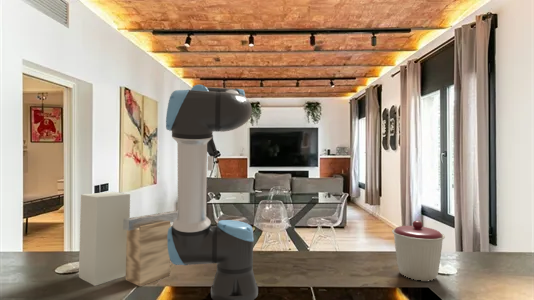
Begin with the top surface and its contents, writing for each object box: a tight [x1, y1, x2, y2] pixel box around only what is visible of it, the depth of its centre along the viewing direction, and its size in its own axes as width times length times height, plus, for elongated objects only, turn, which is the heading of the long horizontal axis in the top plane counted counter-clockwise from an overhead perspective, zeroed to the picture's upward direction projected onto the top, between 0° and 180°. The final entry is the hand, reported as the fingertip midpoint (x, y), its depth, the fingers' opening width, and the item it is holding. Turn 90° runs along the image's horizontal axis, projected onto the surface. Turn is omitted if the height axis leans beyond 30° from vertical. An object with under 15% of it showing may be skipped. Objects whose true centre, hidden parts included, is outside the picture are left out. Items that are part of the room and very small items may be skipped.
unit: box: [78, 191, 131, 287], centre depth 114 cm, size 12×12×30 cm
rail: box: [123, 209, 178, 231], centre depth 115 cm, size 4×24×4 cm, turn 144°
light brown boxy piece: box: [125, 221, 172, 287], centre depth 112 cm, size 9×12×20 cm
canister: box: [391, 220, 446, 282], centre depth 118 cm, size 18×18×21 cm
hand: (198, 170), depth 135 cm, fingers open, 13 cm apart
